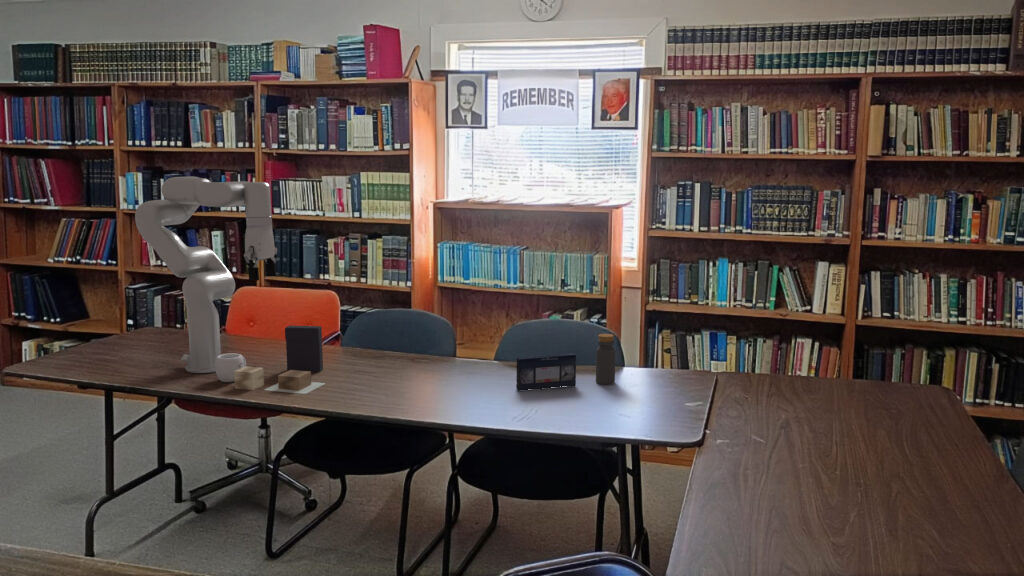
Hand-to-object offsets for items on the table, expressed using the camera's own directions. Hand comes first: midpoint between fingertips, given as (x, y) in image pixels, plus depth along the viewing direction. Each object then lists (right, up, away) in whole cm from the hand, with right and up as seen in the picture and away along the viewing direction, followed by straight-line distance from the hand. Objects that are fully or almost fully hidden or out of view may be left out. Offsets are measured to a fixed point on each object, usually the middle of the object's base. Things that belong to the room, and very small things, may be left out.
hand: (262, 278), depth 264 cm
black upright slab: (+10, -30, +12) cm, 34 cm away
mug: (-10, -32, +4) cm, 34 cm away
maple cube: (-2, -33, -7) cm, 34 cm away
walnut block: (+12, -33, -7) cm, 35 cm away
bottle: (+106, -33, +1) cm, 111 cm away
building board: (+12, -33, -7) cm, 36 cm away
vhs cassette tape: (+87, -34, -5) cm, 94 cm away
